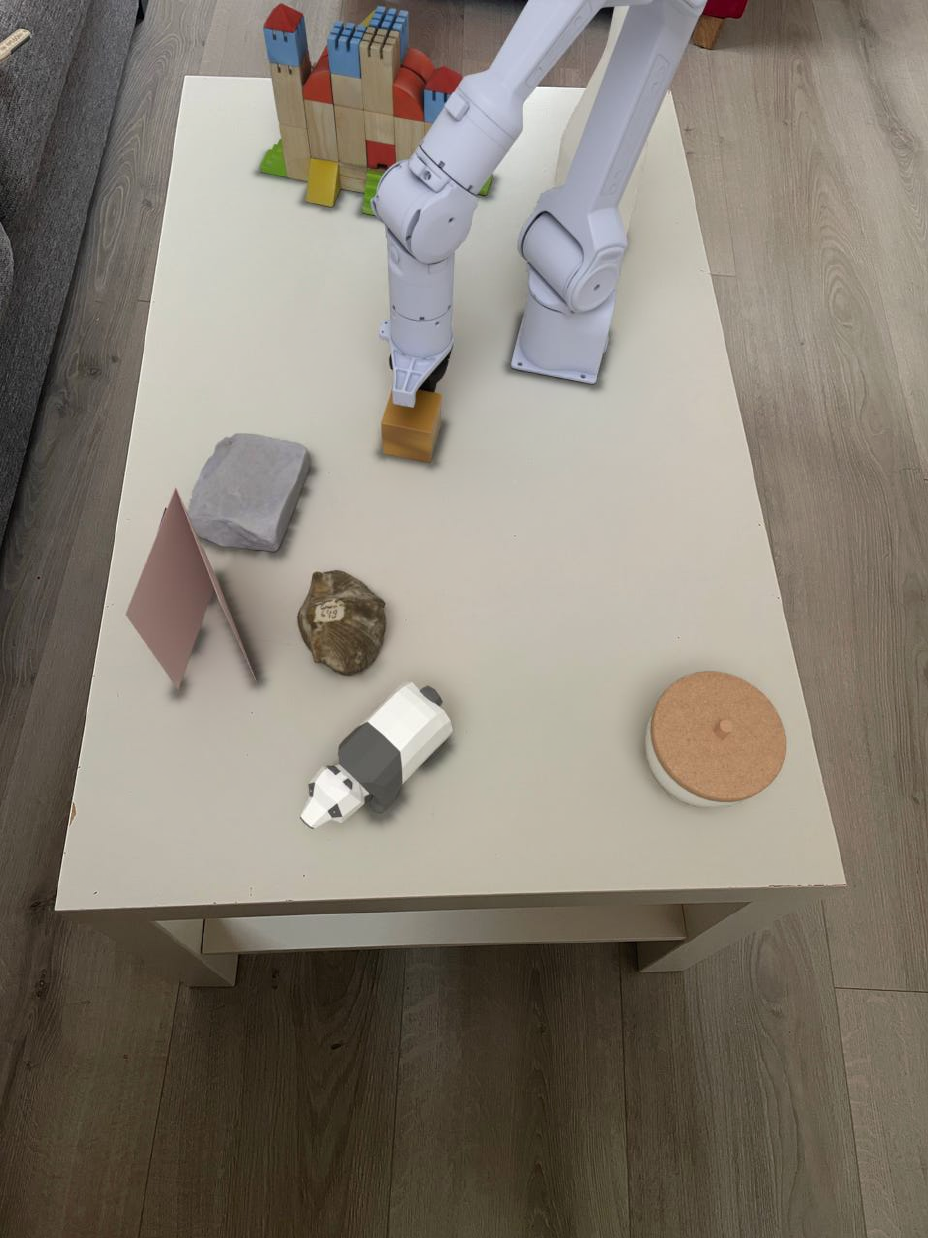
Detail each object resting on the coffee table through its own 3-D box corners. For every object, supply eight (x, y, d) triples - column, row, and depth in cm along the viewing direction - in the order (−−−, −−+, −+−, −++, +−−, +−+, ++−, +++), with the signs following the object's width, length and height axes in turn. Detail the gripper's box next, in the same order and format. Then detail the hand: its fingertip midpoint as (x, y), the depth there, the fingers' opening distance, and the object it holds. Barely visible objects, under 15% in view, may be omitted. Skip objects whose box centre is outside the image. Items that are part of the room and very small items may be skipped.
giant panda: (412, 698, 76) (411, 655, 68) (458, 738, 75) (463, 699, 66) (291, 819, 71) (273, 789, 62) (338, 865, 69) (325, 840, 61)
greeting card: (207, 577, 81) (164, 485, 67) (284, 591, 80) (256, 500, 67) (168, 688, 76) (113, 612, 62) (250, 703, 75) (212, 629, 62)
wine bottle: (530, 232, 103) (568, -51, 76) (584, 199, 106) (639, -85, 80) (586, 276, 101) (646, -3, 74) (640, 240, 104) (716, -40, 77)
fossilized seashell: (304, 562, 79) (277, 665, 76) (332, 545, 73) (304, 656, 71) (375, 588, 82) (352, 688, 80) (408, 575, 77) (383, 681, 74)
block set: (498, 161, 109) (512, -4, 92) (473, 235, 103) (483, 73, 85) (286, 121, 111) (261, -49, 93) (249, 191, 104) (215, 23, 87)
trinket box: (622, 707, 77) (646, 666, 68) (738, 700, 77) (776, 658, 69) (643, 827, 72) (672, 799, 63) (766, 817, 73) (811, 788, 64)
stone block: (192, 549, 84) (285, 558, 82) (170, 519, 80) (268, 528, 77) (232, 457, 89) (321, 463, 87) (214, 424, 85) (306, 430, 83)
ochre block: (441, 425, 90) (442, 393, 85) (430, 463, 88) (430, 432, 83) (395, 416, 90) (393, 384, 86) (383, 453, 88) (380, 422, 83)
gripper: (398, 235, 80) (401, 341, 92) (356, 348, 74) (365, 446, 86) (471, 249, 80) (464, 354, 92) (435, 364, 73) (434, 460, 86)
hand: (421, 399), depth 89 cm, fingers closed
